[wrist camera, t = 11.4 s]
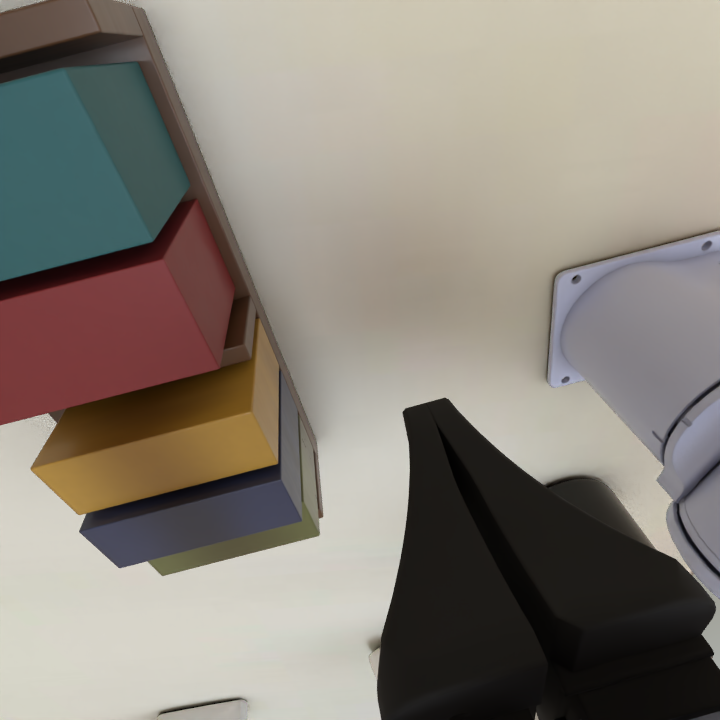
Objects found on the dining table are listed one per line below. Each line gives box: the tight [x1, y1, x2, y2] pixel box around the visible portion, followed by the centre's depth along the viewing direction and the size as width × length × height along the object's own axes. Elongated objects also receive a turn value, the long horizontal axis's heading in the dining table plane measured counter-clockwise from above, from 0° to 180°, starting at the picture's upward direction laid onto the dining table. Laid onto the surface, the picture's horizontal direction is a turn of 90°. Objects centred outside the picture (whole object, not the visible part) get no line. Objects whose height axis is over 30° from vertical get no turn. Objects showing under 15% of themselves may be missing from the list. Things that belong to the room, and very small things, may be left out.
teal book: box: [0, 61, 190, 282], centre depth 13 cm, size 8×4×6 cm, turn 102°
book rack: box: [0, 0, 323, 576], centre depth 18 cm, size 10×22×8 cm, turn 12°
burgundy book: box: [0, 199, 235, 425], centre depth 16 cm, size 8×4×6 cm, turn 102°
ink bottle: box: [548, 479, 713, 658], centre depth 32 cm, size 10×9×12 cm
